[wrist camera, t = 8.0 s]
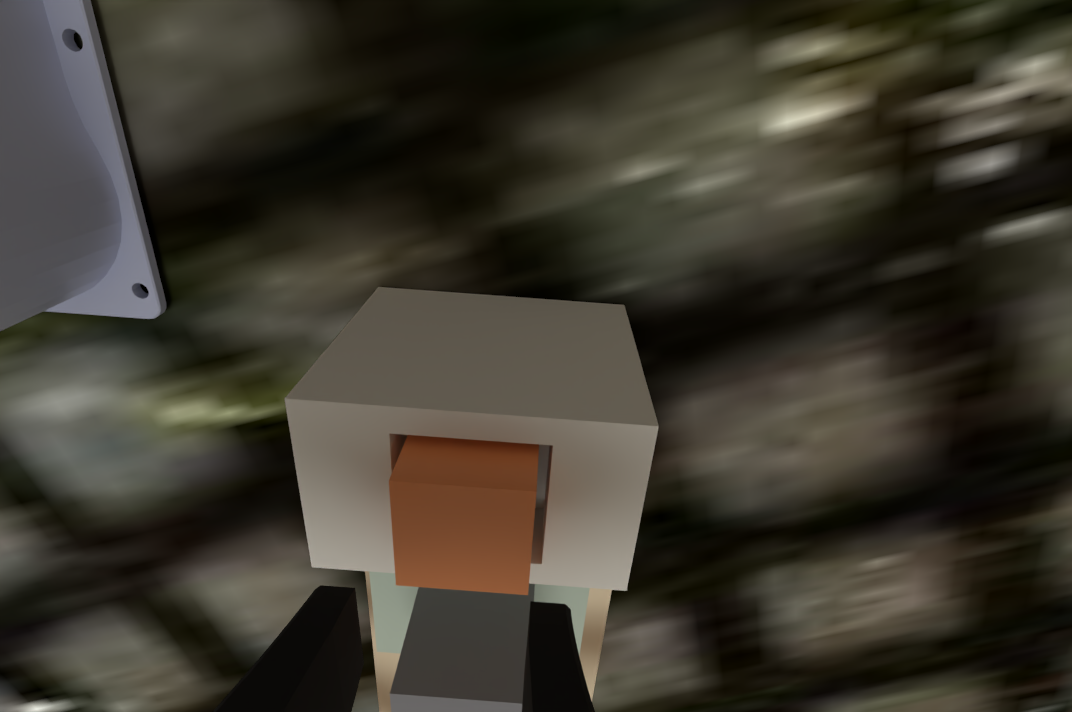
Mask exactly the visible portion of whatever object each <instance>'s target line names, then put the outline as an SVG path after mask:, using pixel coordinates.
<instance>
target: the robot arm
mask: <svg viewBox="0 0 1072 712" xmlns="http://www.w3.org/2000/svg"><path fill="white" fill-rule="evenodd" d="M75 32H77V33H78V34H79V35H80V36H81V39H82V41H83V47H82V49H79V48H78V47H77V45H76V43H75V41H74V34H75ZM140 284H143V285H144V286H145V287H147V289H148V291H149V294H148V293H145V292H144V291H143V290H142V288H141V287H140ZM165 310H166V299H165V295H164V291H163V287H162V283H161V279H160V275H159V271H158V267H157V263H156V259H155V256H154V252H153V248H152V244H151V240H150V236H149V232H148V228H147V224H146V220H145V216H144V212H143V208H142V204H141V200H140V196H139V192H138V188H137V184H136V180H135V176H134V172H133V168H132V164H131V160H130V156H129V152H128V148H127V144H126V140H125V136H124V132H123V128H122V124H121V120H120V116H119V112H118V108H117V104H116V100H115V96H114V92H113V88H112V84H111V80H110V76H109V72H108V68H107V64H106V60H105V56H104V52H103V48H102V44H101V40H100V36H99V32H98V28H97V24H96V20H95V16H94V12H93V8H92V4H91V0H0V331H2V330H4V329H6V328H8V327H10V326H13V325H15V324H17V323H19V322H21V321H23V320H26V319H28V318H30V317H32V316H34V315H36V314H38V313H41V312H43V311H47V312H61V313H74V314H88V315H101V316H115V317H128V318H142V319H153V318H156V317H158V316H159V315H161V314H162V313H164V312H165ZM363 664H364V661H363V653H362V644H361V635H360V627H359V618H358V610H357V601H356V592H355V588H347V587H334V586H319V587H318V588H317V589H315V590H314V592H313V593H312V594H311V595H310V597H309V598H308V599H307V601H306V602H305V603H304V604H303V606H302V607H301V608H300V609H299V611H298V612H297V613H296V614H295V616H294V617H293V618H292V619H291V621H290V622H289V623H288V624H287V626H286V627H285V628H284V629H283V631H282V632H281V633H280V634H279V636H278V637H277V638H276V639H275V640H274V642H273V643H272V644H271V645H270V646H269V648H268V649H267V650H266V651H265V652H264V654H263V655H262V656H261V657H260V658H259V660H258V661H257V662H256V663H255V664H254V665H253V667H252V668H251V669H250V670H249V671H248V672H247V673H246V675H245V676H244V677H243V678H242V679H241V680H240V681H239V683H238V684H237V685H236V686H235V687H234V688H233V689H232V690H231V692H230V693H229V694H228V695H227V696H226V697H225V698H224V700H223V701H222V702H221V703H220V704H219V705H218V706H217V708H216V709H215V710H214V711H213V712H351V711H352V707H353V703H354V700H355V696H356V692H357V688H358V684H359V680H360V676H361V672H362V668H363ZM522 712H595V711H594V707H593V704H592V701H591V698H590V694H589V691H588V687H587V684H586V680H585V676H584V673H583V669H582V665H581V661H580V657H579V653H578V649H577V644H576V639H575V634H574V629H573V623H572V616H571V609H570V608H569V607H568V606H567V605H566V604H560V603H547V602H534V601H530V612H529V624H528V636H527V647H526V659H525V670H524V684H523V701H522Z"/></svg>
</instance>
